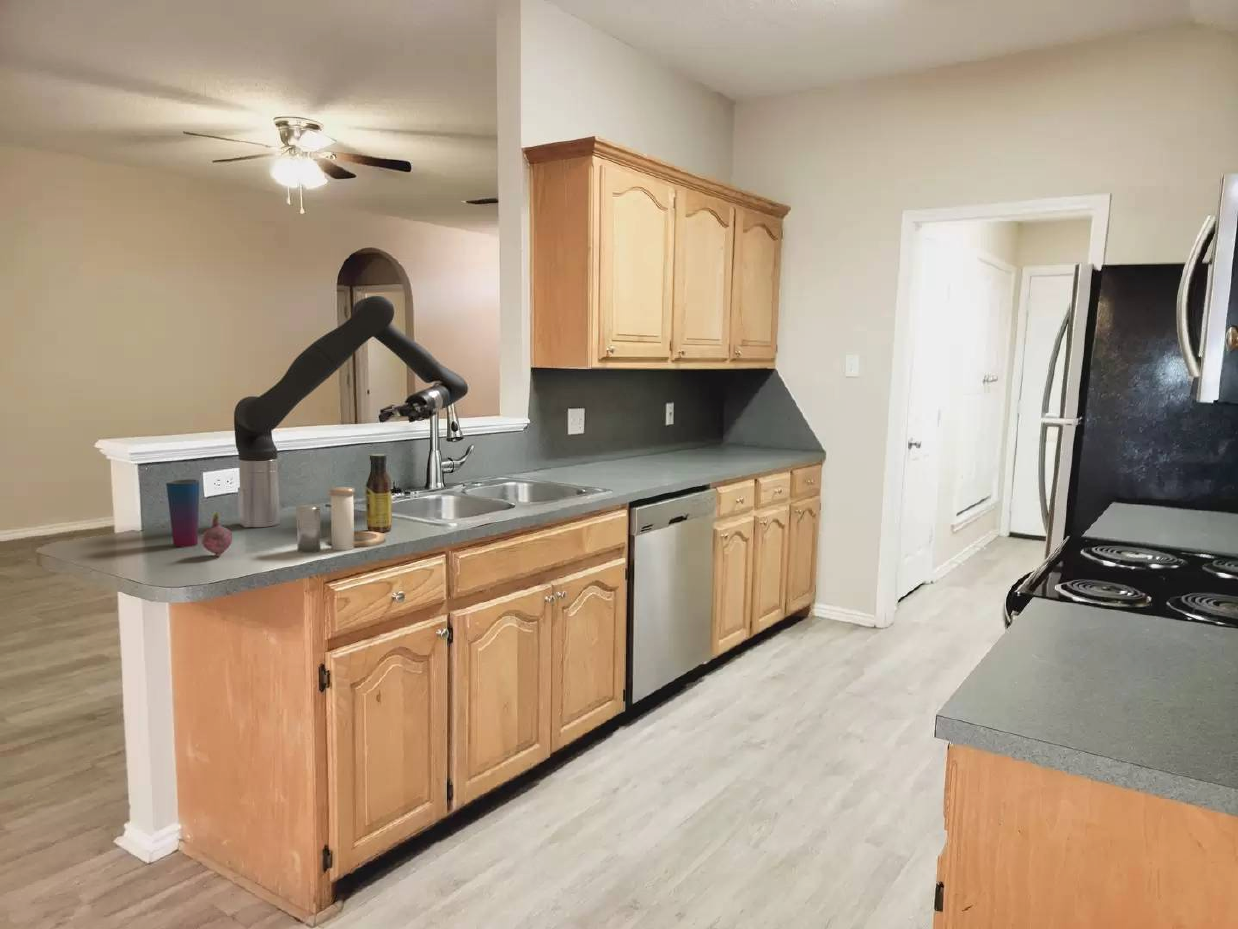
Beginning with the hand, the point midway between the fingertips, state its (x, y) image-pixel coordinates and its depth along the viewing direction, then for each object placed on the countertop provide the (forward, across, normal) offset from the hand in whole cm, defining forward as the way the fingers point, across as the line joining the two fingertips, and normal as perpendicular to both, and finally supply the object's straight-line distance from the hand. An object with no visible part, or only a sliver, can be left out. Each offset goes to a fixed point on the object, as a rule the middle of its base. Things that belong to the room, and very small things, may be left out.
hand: (395, 418), depth 218 cm
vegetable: (+48, -20, +19) cm, 55 cm away
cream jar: (+32, 0, +23) cm, 39 cm away
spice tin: (+36, -5, +22) cm, 43 cm away
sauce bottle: (+13, -2, +26) cm, 30 cm away
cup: (+42, -35, +20) cm, 58 cm away
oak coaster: (+25, 0, +24) cm, 35 cm away
